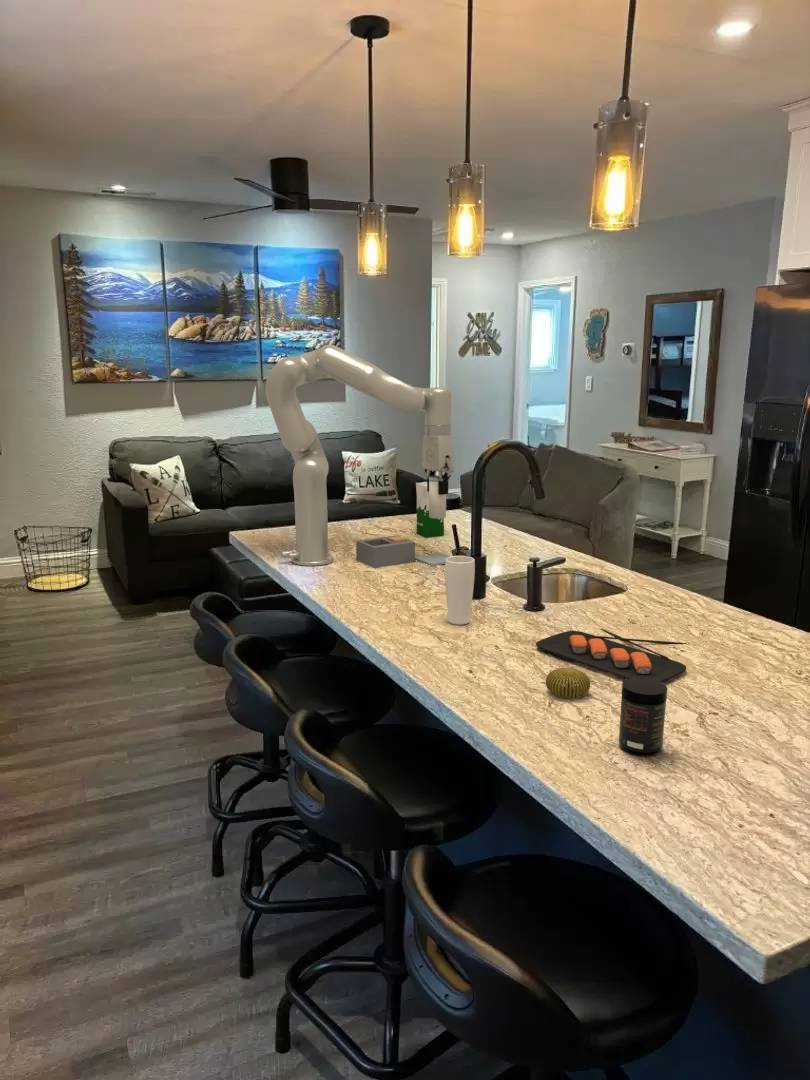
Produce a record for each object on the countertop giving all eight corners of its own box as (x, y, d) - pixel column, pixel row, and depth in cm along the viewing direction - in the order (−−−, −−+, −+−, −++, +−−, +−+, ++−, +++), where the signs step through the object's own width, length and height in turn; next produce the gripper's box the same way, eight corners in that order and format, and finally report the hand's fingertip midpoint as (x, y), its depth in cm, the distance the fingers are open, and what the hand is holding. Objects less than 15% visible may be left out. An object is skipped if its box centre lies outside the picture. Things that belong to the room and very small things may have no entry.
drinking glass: (471, 627, 182) (473, 563, 179) (442, 625, 184) (443, 562, 180) (475, 618, 189) (476, 556, 185) (446, 616, 190) (447, 554, 187)
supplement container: (665, 742, 128) (670, 681, 126) (659, 761, 122) (664, 698, 120) (622, 734, 131) (626, 674, 129) (614, 752, 125) (618, 690, 123)
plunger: (394, 556, 241) (394, 540, 239) (388, 553, 244) (387, 537, 243) (406, 554, 243) (406, 538, 242) (399, 551, 246) (399, 536, 245)
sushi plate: (529, 651, 169) (530, 634, 168) (613, 622, 188) (614, 606, 187) (650, 695, 148) (651, 675, 147) (731, 656, 167) (733, 639, 166)
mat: (431, 566, 235) (431, 564, 235) (413, 559, 243) (413, 557, 243) (459, 562, 240) (459, 559, 240) (440, 555, 248) (440, 552, 248)
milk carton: (447, 536, 274) (448, 478, 270) (423, 538, 271) (424, 480, 266) (435, 531, 282) (436, 475, 278) (412, 533, 279) (412, 476, 274)
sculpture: (537, 672, 146) (562, 661, 152) (536, 693, 147) (561, 681, 153) (574, 685, 141) (599, 672, 146) (573, 706, 142) (598, 693, 147)
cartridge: (434, 519, 235) (435, 478, 232) (425, 516, 239) (425, 476, 237) (449, 517, 238) (450, 477, 235) (439, 514, 242) (440, 474, 239)
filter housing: (374, 567, 233) (374, 547, 232) (356, 559, 243) (356, 540, 241) (415, 561, 241) (415, 542, 239) (396, 554, 250) (396, 535, 248)
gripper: (411, 429, 238) (411, 490, 242) (443, 433, 224) (443, 498, 228) (432, 428, 242) (432, 487, 246) (465, 432, 228) (464, 495, 232)
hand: (437, 492), depth 237 cm, fingers closed on cartridge, 5 cm apart
